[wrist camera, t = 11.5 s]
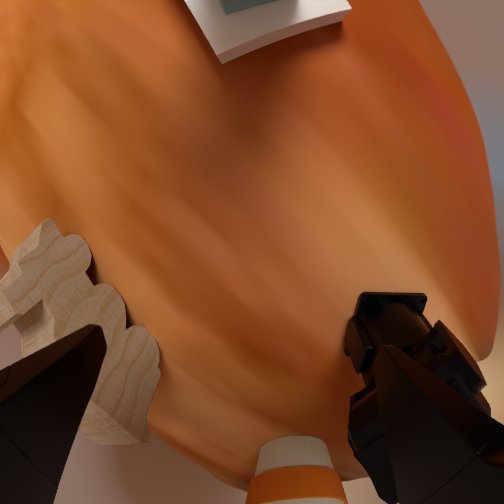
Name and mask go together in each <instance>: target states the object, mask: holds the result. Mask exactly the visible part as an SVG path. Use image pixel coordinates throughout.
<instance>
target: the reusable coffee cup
mask: <svg viewBox="0 0 504 504" xmlns="http://www.w3.org/2000/svg"><path fill="white" fill-rule="evenodd" d="M347 503H348V502H347V498H346V495H345V492H344V489H343V486H342V482H341V479H340V476H339V473H338V472H337V471H335V470H334V468H333V465H332V462H331V458H330V455H329V452H328V449H327V446H326V443H325V442H324V441H323V440H321V439H319V438H316V437H312V436H287V437H281V438H278V439H274V440H272V441H269V442H267V443H266V444H264V445H263V446H262V447H261V448H260V450H259V456H258V461H257V466H256V472H255V477H254V478H252V479H251V481H250V484H249V489H248V494H247V499H246V503H245V504H347Z"/></svg>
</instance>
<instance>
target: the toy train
mask: <svg viewBox="0 0 504 504" xmlns="http://www.w3.org/2000/svg"><path fill="white" fill-rule="evenodd" d="M91 257H92V255H91V252H90V249H89V246H88V244H87V242H86V241H85V240H84V239H83V238H82V237H81V236H79V235H76V234H70V235H68V236H65V237H63V235H62V234H61V232H60V231H59V229H58V228H57V226H56V225H55V223H54V221H53V220H52V219H50V218H47V219H45V220H44V221H43V222H42V223H41V224H40V225H39V226H38V227H37V228H36V229H35V230H34V231H33V232H32V233H31V234H30V235H29V236H28V237H27V238H26V239H25V240H24V241H23V242H22V243H21V244H20V245H19V246H18V247H17V248H16V250H15V251H14V252H13V253H12V256H11V262H10V268H9V271H8V272H7V273H6V274H5V276H4V277H3V278H2V279H1V280H0V332H1V331H2V330H4V329H5V328H6V327H8V326H9V325H10V324H12V323H14V325H15V327H16V328H17V330H18V331H19V333H20V334H21V336H22V351H21V352H22V355H23V358H25V357H27V356H28V355H30V354H32V353H34V352H36V351H38V350H40V349H42V348H44V347H46V346H48V345H49V344H51V343H53V342H55V341H57V340H59V339H61V338H63V337H65V336H67V335H69V334H71V333H72V332H74V331H76V330H78V329H80V328H82V327H84V326H86V325H88V324H96V325H100V326H101V327H102V329H103V332H104V336H105V339H106V343H107V352H106V355H105V358H104V361H103V364H102V367H101V370H100V374H99V377H98V380H97V383H96V386H95V389H94V391H93V394H92V396H91V399H90V401H89V403H88V406H87V408H86V411H85V413H84V416H83V418H82V421H81V423H80V426H79V428H78V429H79V430H80V431H81V432H83V433H84V434H85V435H86V436H88V437H89V438H90V439H91V440H93V441H94V442H95V443H96V444H98V445H120V444H139V443H148V441H149V440H150V431H149V428H148V424H147V421H146V415H147V412H148V409H149V406H150V404H151V401H152V398H153V395H154V393H155V390H156V387H157V385H158V382H159V379H160V376H161V373H160V369H159V368H158V364H159V360H160V358H159V348H158V345H157V342H156V340H155V338H154V336H153V335H152V334H151V333H150V331H149V330H148V329H147V328H145V327H143V326H141V325H133V326H131V327H129V328H126V311H125V304H124V302H123V299H122V297H121V296H120V294H119V293H118V292H117V290H116V289H115V288H114V287H113V286H112V285H111V284H106V283H101V284H98V285H96V286H94V285H93V284H92V282H91V281H90V279H89V278H88V276H87V274H86V273H85V271H86V270H87V268H88V267H89V266H90V262H91Z"/></svg>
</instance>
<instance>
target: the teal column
mask: <svg viewBox="0 0 504 504" xmlns="http://www.w3.org/2000/svg"><path fill="white" fill-rule="evenodd" d="M274 1H278V0H219V2H220V4H221V6H222V8H223V10H224V13H225V15H228V14H231V13H234V12H237V11H240V10H244V9H247V8H251V7H254V6H258V5H262V4H266V3H270V2H274Z"/></svg>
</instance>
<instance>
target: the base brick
mask: <svg viewBox="0 0 504 504" xmlns="http://www.w3.org/2000/svg"><path fill="white" fill-rule="evenodd" d="M184 1H185V2H186V4H187V6H188V7H189V9H190V11H191V12H192V14H193V16H194V17H195V19H196V21H197V22H198V24H199V26H200V28H201V29H202V31H203V33H204V34H205V36H206V38H207V40H208V41H209V43H210V45H211V47H212V48H213V50H214V52H215V54H216V56H217V57H218V59H219V60H220V62H221V64H224V63H226V62H228V61H231V60H233V59H235V58H237V57H239V56H242V55H244V54H246V53H249V52H251V51H254V50H256V49H258V48H261V47H263V46H266V45H269V44H271V43H274V42H276V41H279V40H282V39H285V38H288V37H290V36H293V35H296V34H299V33H302V32H306V31H309V30H312V29H315V28H319V27H322V26H326V25H329V24H333V23H337V22H341V21H343V20H344V18H345V17H346V16H347V14H348V13H349V12H350V10H351V9H352V8H351V6H350V5H349V3H348V2H347V0H278V1H274V2H270V3H266V4H262V5H258V6H254V7H251V8H247V9H244V10H240V11H237V12H234V13H231V14H228V15H225V13H224V10H223V8H222V6H221V4H220V2H219V0H184Z"/></svg>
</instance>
